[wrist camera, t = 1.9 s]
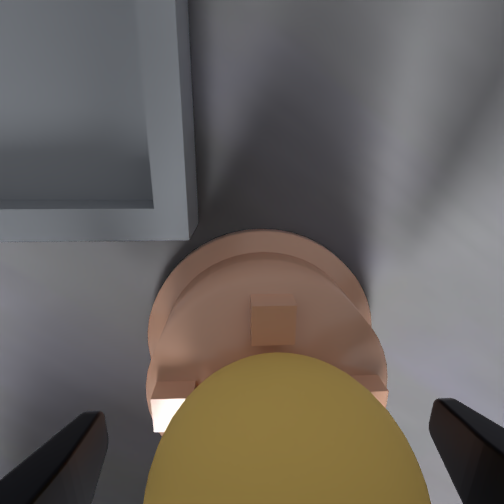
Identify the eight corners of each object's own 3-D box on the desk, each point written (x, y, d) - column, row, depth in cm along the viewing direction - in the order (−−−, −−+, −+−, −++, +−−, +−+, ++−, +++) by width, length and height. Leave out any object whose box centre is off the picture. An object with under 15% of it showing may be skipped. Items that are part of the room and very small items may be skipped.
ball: (372, 306, 8) (609, 569, 3) (351, 460, 9) (481, 800, 4) (166, 311, 7) (34, 606, 2) (180, 467, 9) (114, 839, 4)
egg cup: (376, 227, 10) (450, 264, 7) (353, 412, 12) (398, 511, 9) (141, 229, 10) (89, 270, 6) (161, 419, 12) (132, 525, 9)
